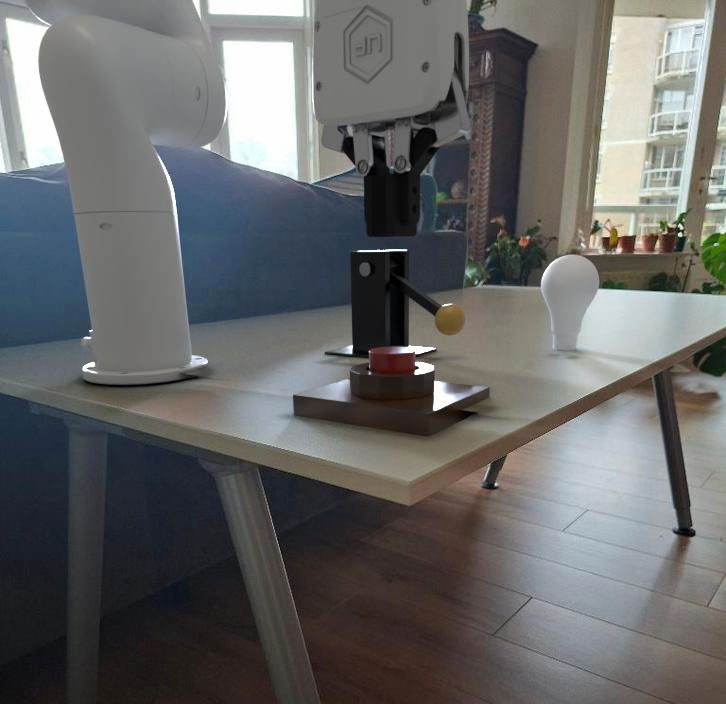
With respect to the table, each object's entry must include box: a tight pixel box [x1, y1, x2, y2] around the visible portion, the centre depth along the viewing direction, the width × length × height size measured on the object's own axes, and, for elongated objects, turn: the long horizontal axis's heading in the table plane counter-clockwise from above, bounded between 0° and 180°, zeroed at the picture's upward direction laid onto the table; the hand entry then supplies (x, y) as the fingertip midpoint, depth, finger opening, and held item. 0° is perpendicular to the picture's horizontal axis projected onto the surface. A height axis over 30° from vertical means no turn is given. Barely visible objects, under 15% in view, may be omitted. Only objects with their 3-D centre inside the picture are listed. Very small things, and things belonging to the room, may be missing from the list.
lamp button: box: [368, 347, 417, 373], centre depth 51 cm, size 4×4×2 cm
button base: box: [292, 361, 491, 438], centre depth 52 cm, size 12×10×4 cm
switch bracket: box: [324, 249, 438, 360], centre depth 74 cm, size 10×8×12 cm
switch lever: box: [390, 258, 467, 336], centre depth 71 cm, size 13×3×3 cm, turn 55°
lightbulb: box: [540, 254, 600, 352], centre depth 74 cm, size 6×6×11 cm
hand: (391, 235), depth 48 cm, fingers closed
